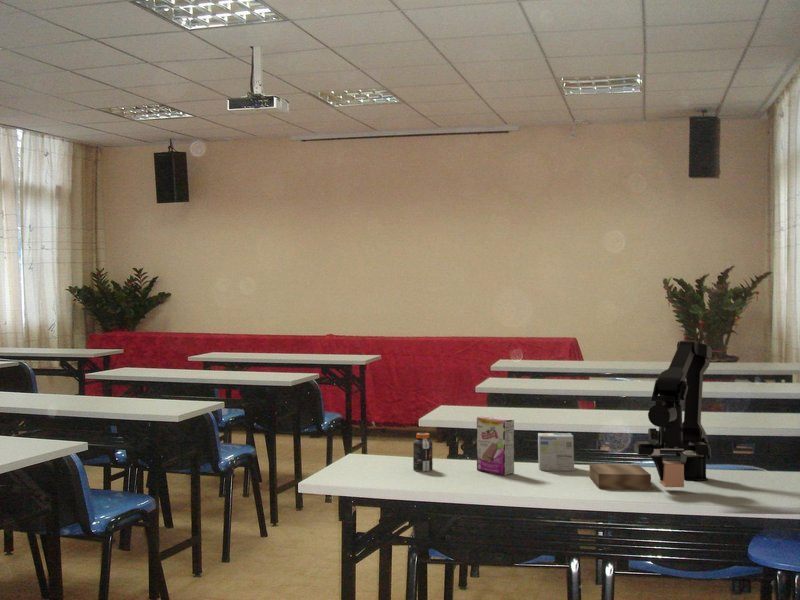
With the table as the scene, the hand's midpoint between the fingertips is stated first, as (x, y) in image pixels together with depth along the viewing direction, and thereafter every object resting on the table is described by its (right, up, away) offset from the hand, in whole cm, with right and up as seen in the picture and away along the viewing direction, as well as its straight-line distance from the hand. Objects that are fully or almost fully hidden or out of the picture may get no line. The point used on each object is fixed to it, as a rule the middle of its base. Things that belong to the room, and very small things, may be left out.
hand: (671, 480), depth 209 cm
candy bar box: (-45, -4, +26) cm, 52 cm away
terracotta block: (0, -1, 0) cm, 1 cm away
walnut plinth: (-11, -3, +10) cm, 15 cm away
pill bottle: (-66, -4, +29) cm, 73 cm away
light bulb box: (-25, -4, +31) cm, 40 cm away
